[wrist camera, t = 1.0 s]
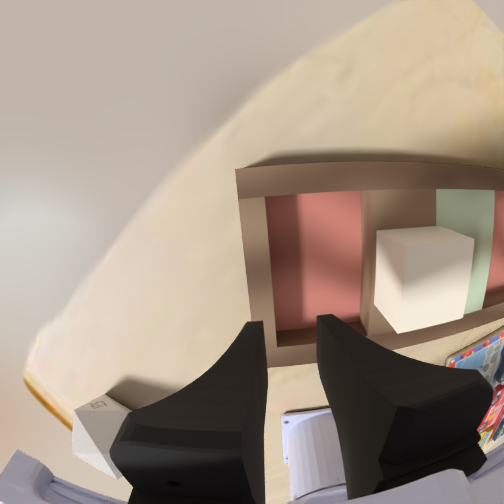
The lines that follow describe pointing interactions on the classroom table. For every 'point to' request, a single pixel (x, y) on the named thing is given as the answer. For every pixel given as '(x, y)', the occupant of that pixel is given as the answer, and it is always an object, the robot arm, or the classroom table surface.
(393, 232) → the block
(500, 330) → the puzzle board
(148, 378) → the classroom table surface
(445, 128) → the classroom table surface
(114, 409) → the die
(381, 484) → the robot arm
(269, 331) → the tray
